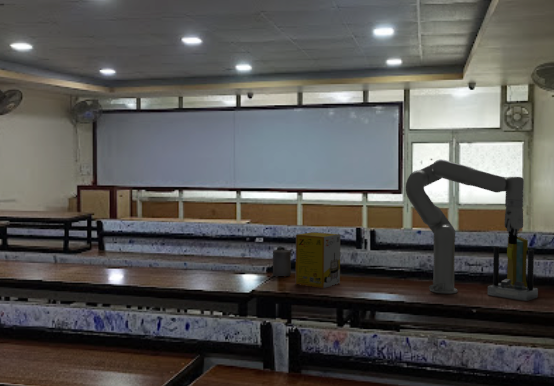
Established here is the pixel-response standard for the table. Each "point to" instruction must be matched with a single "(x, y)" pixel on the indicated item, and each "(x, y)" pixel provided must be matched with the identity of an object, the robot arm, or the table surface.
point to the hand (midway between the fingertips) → (512, 243)
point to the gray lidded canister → (281, 263)
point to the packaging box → (318, 259)
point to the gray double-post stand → (510, 289)
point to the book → (517, 261)
